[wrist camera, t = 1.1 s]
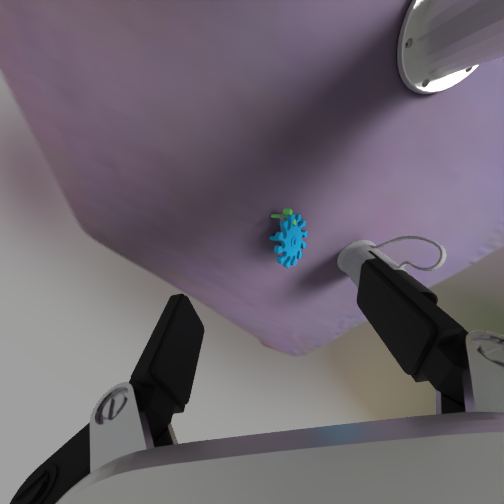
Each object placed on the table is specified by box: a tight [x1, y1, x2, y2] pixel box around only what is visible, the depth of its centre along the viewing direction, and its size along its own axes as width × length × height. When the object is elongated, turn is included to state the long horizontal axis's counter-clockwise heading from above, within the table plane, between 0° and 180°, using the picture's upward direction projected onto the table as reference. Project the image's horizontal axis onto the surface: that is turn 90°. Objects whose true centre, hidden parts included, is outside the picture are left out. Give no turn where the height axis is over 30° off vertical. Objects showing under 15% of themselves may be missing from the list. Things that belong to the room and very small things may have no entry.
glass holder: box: [337, 236, 446, 305], centre depth 32 cm, size 9×14×15 cm, turn 166°
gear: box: [270, 209, 307, 268], centre depth 34 cm, size 11×6×10 cm
